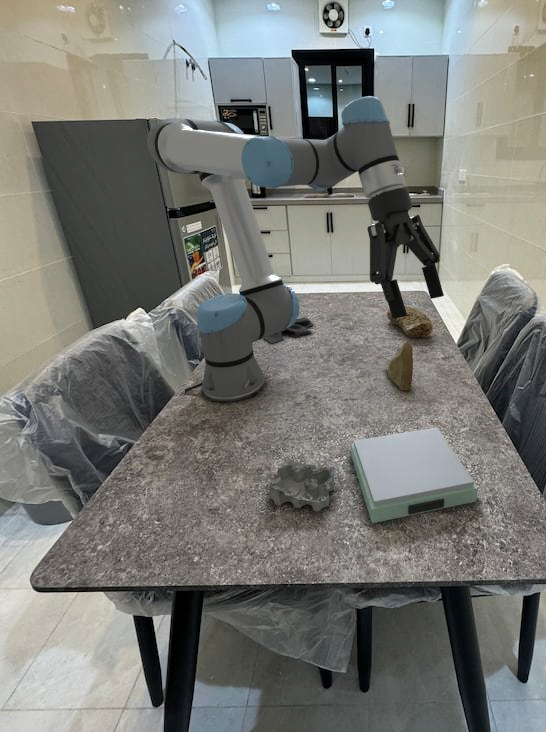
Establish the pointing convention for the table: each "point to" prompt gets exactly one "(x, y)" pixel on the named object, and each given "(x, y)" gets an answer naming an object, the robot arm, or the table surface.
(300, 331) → the cloth
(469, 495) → the scale
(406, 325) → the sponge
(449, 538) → the table surface
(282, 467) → the egg carton
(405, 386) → the rock
